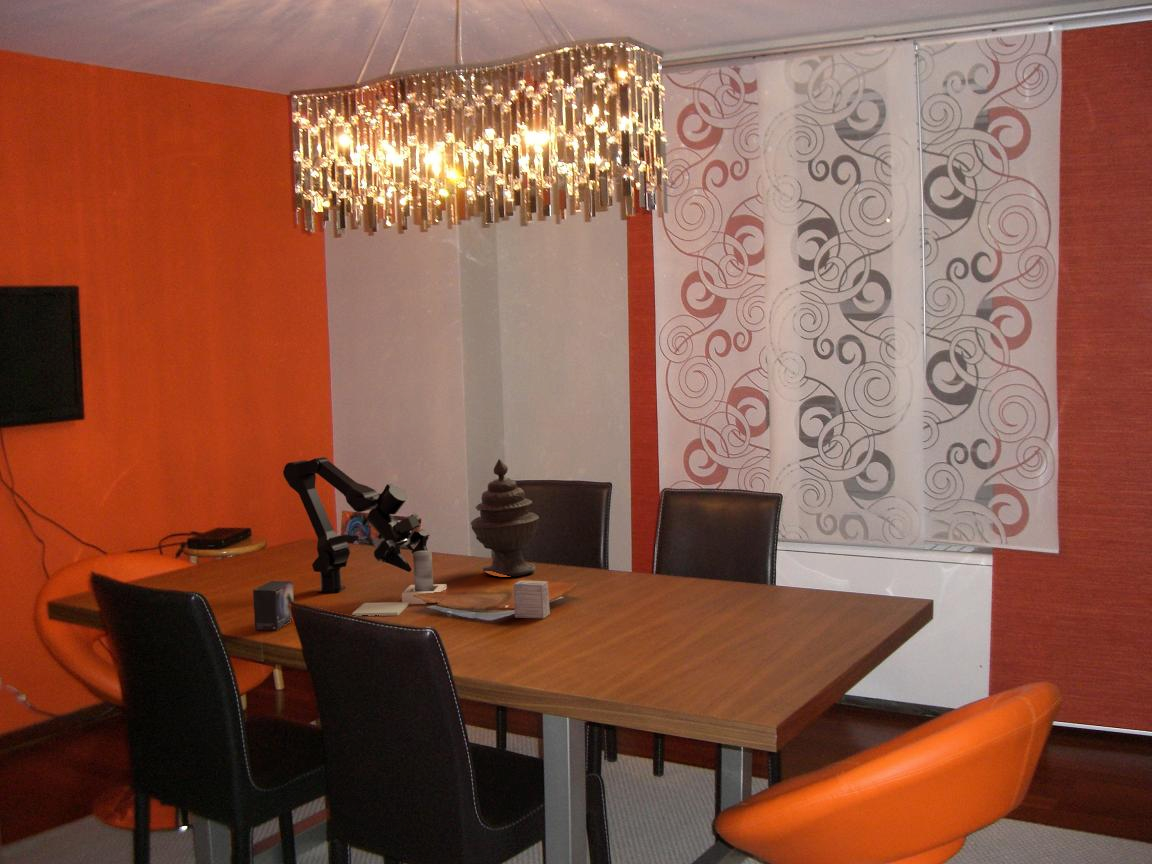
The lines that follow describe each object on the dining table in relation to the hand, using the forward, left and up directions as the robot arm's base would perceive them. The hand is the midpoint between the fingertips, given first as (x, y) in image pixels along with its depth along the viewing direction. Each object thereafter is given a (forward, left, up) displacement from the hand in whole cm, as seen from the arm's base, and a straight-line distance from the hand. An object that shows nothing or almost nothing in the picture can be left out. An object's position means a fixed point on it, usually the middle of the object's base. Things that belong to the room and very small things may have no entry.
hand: (420, 567), depth 308 cm
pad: (+12, -8, -9) cm, 17 cm away
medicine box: (+20, +33, -9) cm, 40 cm away
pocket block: (0, +1, -9) cm, 9 cm away
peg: (0, +1, -9) cm, 9 cm away
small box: (+25, -32, -9) cm, 42 cm away
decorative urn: (-31, +18, -9) cm, 37 cm away
